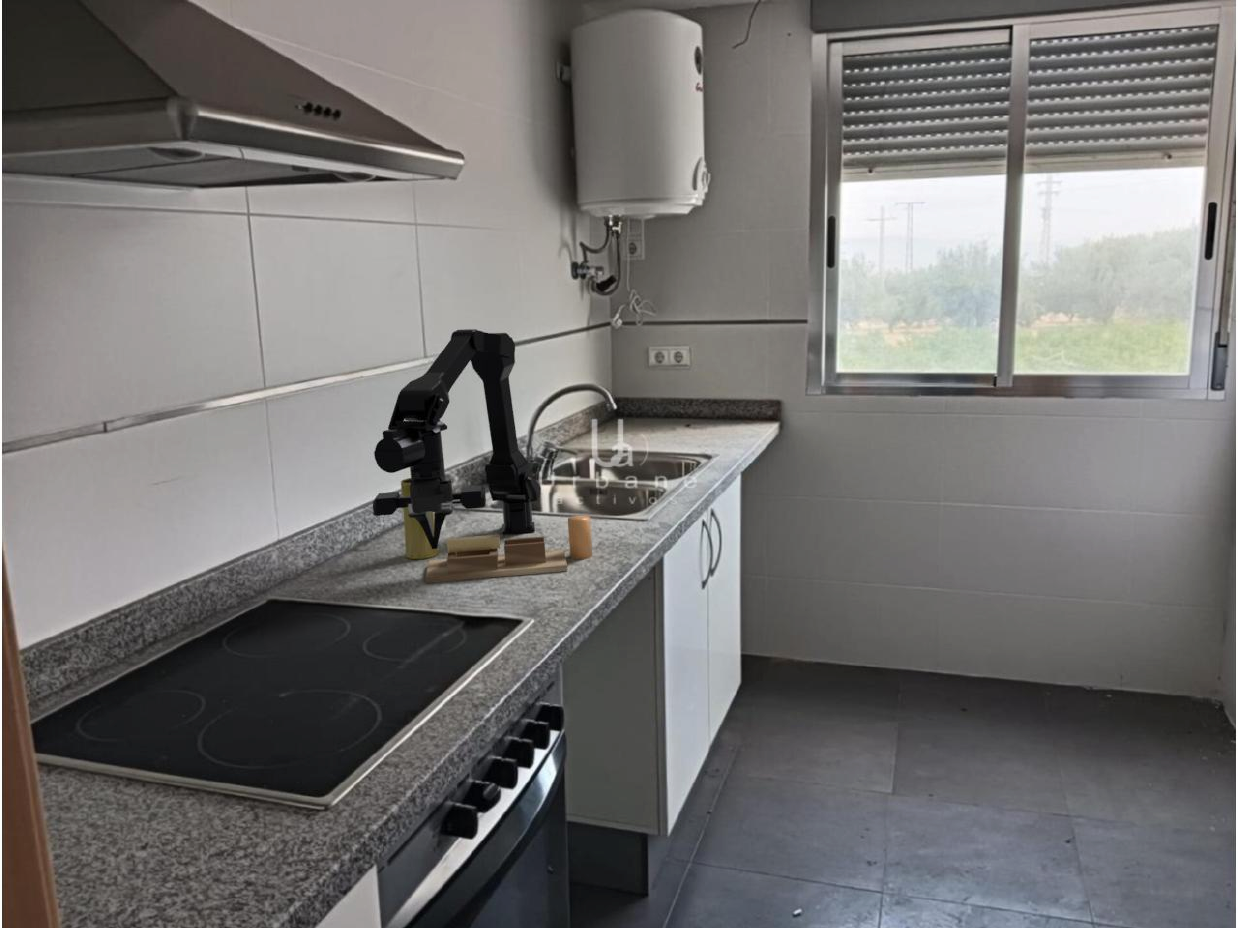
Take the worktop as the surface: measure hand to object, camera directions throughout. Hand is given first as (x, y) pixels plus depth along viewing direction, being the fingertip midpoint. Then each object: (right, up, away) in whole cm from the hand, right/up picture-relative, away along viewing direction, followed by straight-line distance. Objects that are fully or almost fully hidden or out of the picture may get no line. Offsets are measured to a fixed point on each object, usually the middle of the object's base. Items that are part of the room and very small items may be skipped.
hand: (434, 548), depth 172 cm
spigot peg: (+25, -2, +7) cm, 26 cm away
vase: (-5, -2, +13) cm, 14 cm away
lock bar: (+7, 0, +1) cm, 7 cm away
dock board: (+11, -4, +2) cm, 11 cm away
